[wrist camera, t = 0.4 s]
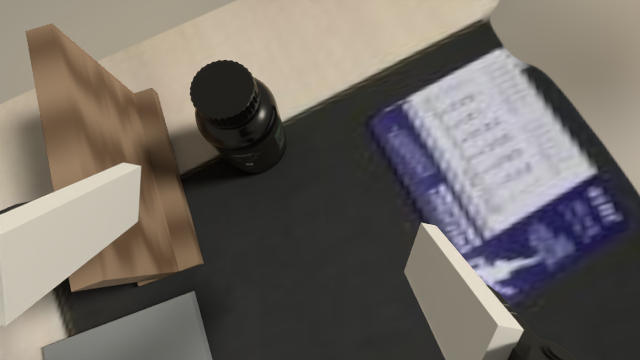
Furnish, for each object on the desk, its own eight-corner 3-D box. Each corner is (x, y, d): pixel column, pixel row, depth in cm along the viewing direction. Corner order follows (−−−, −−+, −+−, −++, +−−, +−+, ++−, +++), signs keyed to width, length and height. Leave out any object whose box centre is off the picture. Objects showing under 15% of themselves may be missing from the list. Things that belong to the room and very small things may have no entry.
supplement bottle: (219, 171, 34) (165, 127, 22) (230, 112, 35) (185, 42, 24) (282, 178, 34) (261, 137, 22) (291, 118, 35) (275, 51, 23)
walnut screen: (203, 263, 32) (134, 268, 20) (145, 284, 31) (38, 303, 19) (157, 93, 36) (78, 15, 24) (105, 110, 35) (-2, 39, 24)
